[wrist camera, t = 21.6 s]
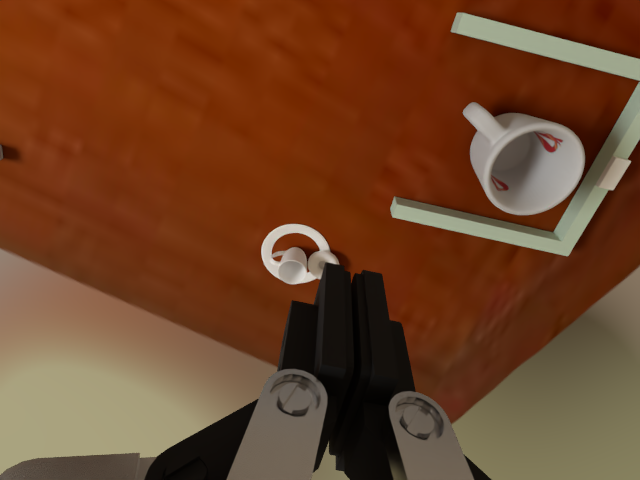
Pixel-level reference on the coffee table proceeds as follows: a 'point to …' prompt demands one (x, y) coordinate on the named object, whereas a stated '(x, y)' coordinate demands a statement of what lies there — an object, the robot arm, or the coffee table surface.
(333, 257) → the white curved piece
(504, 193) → the cup
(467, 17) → the mint green u-frame
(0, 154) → the grey u-frame
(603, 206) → the coffee table surface
